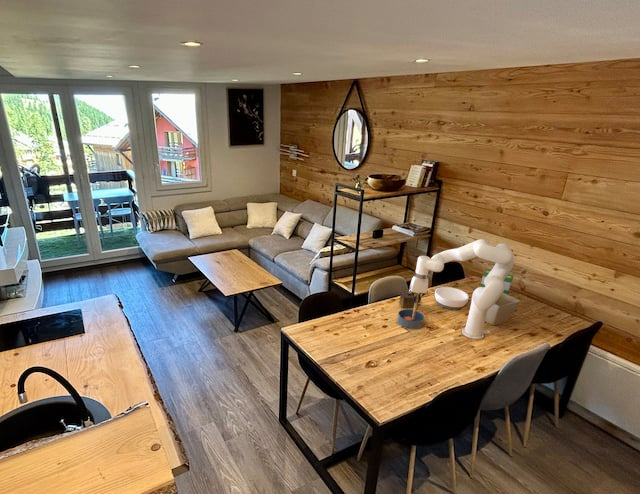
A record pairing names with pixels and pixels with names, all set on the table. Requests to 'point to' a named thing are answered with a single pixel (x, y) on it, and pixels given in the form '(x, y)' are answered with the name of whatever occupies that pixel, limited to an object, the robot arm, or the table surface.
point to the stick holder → (406, 300)
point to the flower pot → (501, 309)
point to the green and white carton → (506, 282)
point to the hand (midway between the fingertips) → (416, 301)
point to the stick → (415, 306)
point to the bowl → (451, 298)
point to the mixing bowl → (408, 324)
